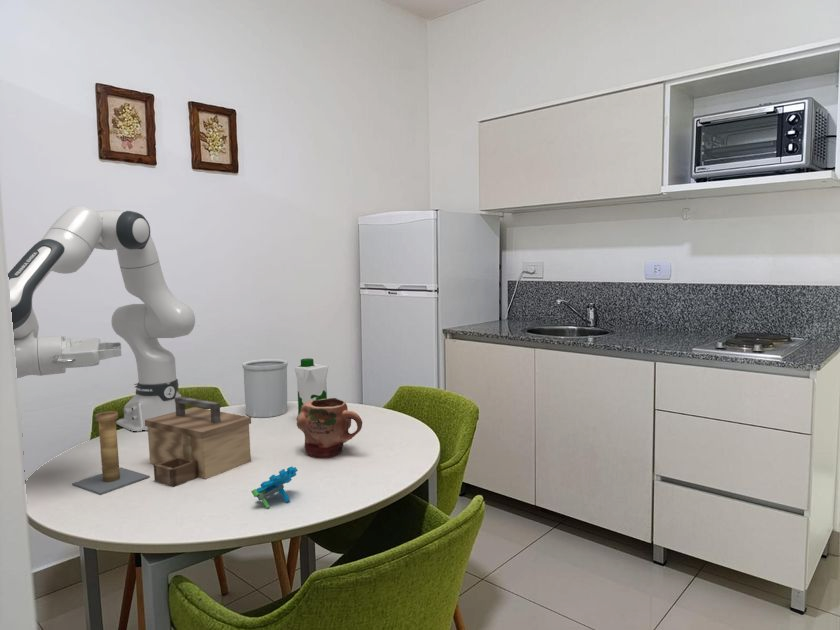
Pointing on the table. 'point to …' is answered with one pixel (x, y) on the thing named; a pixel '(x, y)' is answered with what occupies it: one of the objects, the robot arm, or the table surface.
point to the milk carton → (310, 382)
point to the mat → (101, 487)
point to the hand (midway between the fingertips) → (121, 348)
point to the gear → (275, 485)
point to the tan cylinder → (108, 445)
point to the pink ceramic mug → (326, 426)
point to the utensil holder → (265, 387)
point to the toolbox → (196, 442)
